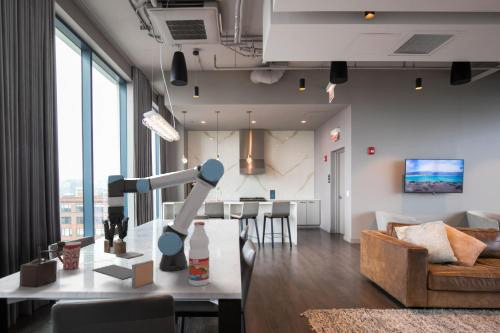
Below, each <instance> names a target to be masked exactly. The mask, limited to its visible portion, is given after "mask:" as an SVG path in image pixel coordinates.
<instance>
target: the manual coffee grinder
mask: <svg viewBox="0 0 500 333" xmlns="http://www.w3.org/2000/svg"><path fill="white" fill-rule="evenodd" d="M66 243H67V242H65V241H64V240H63V241H61V240H59V241H58V242H57V243H56V246H57V248H56V250H42V247H40V246H39V247H38V248H37V249H38V250H37V252H38V254H37V255H38V256H37V258H36V259H33V260H32V261H31V262H27V263H24V264H20V266H19V283H18V285H19V286H20V285H21V286H20V287H27V286H28V287H29V288H30V287H31V288H39V286H40V287H42V286H45V285H48V284H51V283H53V282H54V281H56V280H57V279H58V278H57V273H58V272H57V270H58V263H57V262H58V261H57V260H55V259H54V260H53V259H52V260H51V259H47V258H44V257H42V255H41V254H43V253H56V252H59V253H60V252H63V247H64V246H65V245H66Z"/></svg>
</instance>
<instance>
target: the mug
mask: <svg viewBox="0 0 500 333" xmlns="http://www.w3.org/2000/svg"><path fill="white" fill-rule="evenodd" d="M65 243H66V245H65V246H64V247H63V251H62V257H61V255H60V252H55V253H56V256H57V258H58V260H59V261H60V262H61V264H62V269H63V270H64V269H66V270H68V271H69V270H70V269H71V270H75V268H76V269H78V268H79V267H80V265H79V264H80V254H81V246H82V242H80V241H69V242H65ZM66 270H65V271H66Z"/></svg>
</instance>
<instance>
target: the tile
mask: <svg viewBox="0 0 500 333" xmlns="http://www.w3.org/2000/svg"><path fill="white" fill-rule="evenodd" d="M131 269H132V277H131V288H132V289H137V288H141V287H143V286H146V285H149V284H151V283H154V260H153V259H149V260H145V261H142V262H137V263H134V264H132V265H131Z"/></svg>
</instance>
